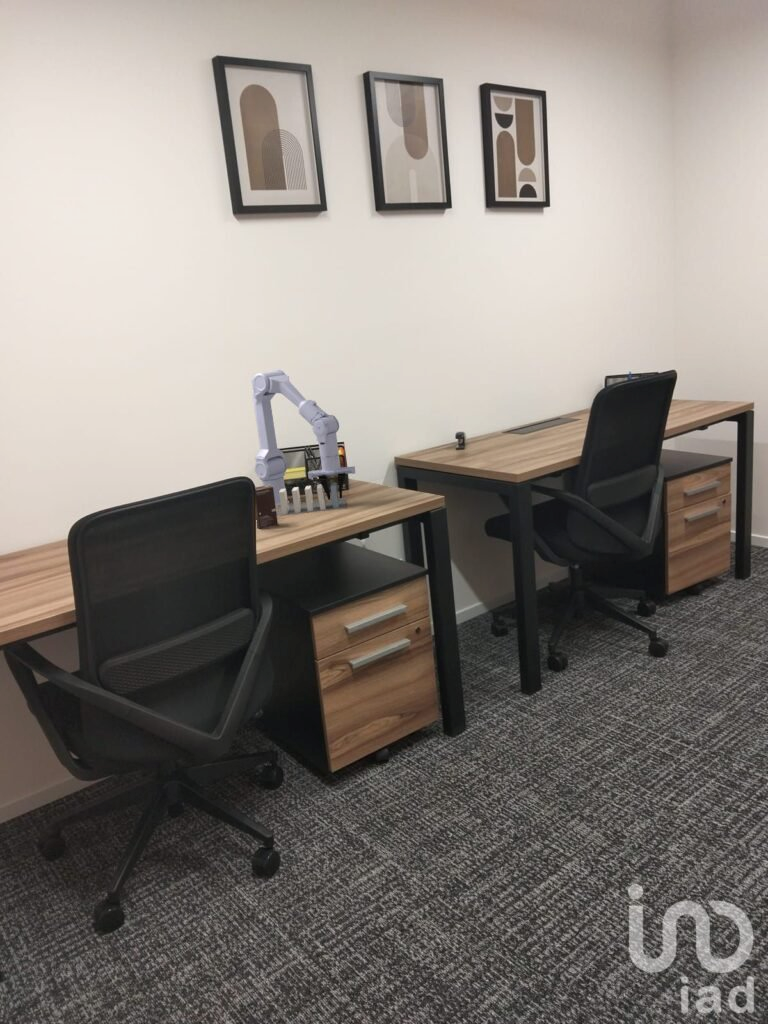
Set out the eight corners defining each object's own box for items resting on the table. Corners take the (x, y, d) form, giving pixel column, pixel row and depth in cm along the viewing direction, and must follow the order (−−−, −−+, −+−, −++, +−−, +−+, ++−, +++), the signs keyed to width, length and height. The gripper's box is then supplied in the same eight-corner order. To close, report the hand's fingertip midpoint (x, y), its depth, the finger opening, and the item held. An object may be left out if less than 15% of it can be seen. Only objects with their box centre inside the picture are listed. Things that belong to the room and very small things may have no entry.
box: (260, 531, 213) (254, 490, 210) (254, 528, 216) (248, 488, 213) (279, 526, 216) (273, 486, 213) (273, 523, 219) (267, 484, 216)
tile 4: (320, 509, 228) (316, 488, 227) (321, 506, 233) (317, 484, 232) (325, 509, 228) (321, 487, 227) (326, 505, 233) (322, 484, 232)
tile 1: (282, 514, 228) (278, 492, 227) (284, 510, 233) (280, 488, 232) (287, 513, 228) (284, 491, 227) (289, 509, 233) (285, 488, 232)
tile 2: (295, 512, 228) (291, 490, 227) (296, 509, 233) (293, 487, 232) (300, 512, 228) (296, 490, 227) (301, 508, 233) (298, 486, 232)
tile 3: (307, 511, 228) (304, 489, 227) (309, 507, 233) (306, 486, 232) (312, 510, 228) (309, 488, 227) (314, 507, 233) (311, 485, 232)
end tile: (333, 508, 228) (330, 486, 227) (334, 504, 233) (331, 483, 232) (338, 507, 228) (335, 485, 227) (339, 504, 233) (336, 482, 231)
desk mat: (274, 517, 227) (274, 516, 227) (280, 506, 242) (280, 505, 242) (345, 509, 227) (345, 508, 227) (347, 498, 241) (346, 497, 241)
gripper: (305, 460, 223) (311, 503, 226) (352, 455, 223) (358, 498, 226) (307, 456, 230) (312, 498, 233) (353, 451, 230) (358, 493, 233)
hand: (335, 498), depth 230 cm, fingers open, 3 cm apart
